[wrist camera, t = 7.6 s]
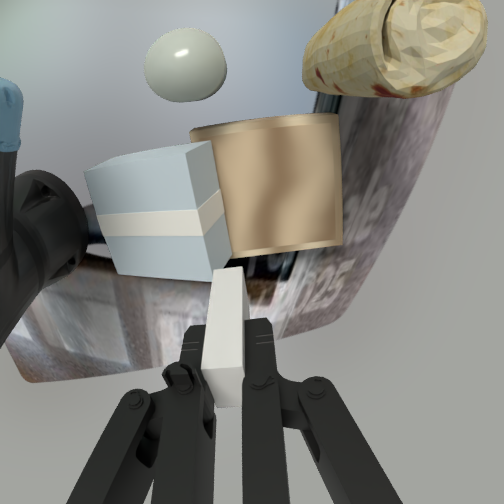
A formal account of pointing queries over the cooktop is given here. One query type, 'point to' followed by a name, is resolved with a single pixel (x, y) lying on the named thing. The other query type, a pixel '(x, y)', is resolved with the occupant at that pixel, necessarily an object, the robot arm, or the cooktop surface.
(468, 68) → the food model
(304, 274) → the cooktop surface
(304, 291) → the cooktop surface
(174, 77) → the pale green rounded knob
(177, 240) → the flat box
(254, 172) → the tan square plate
